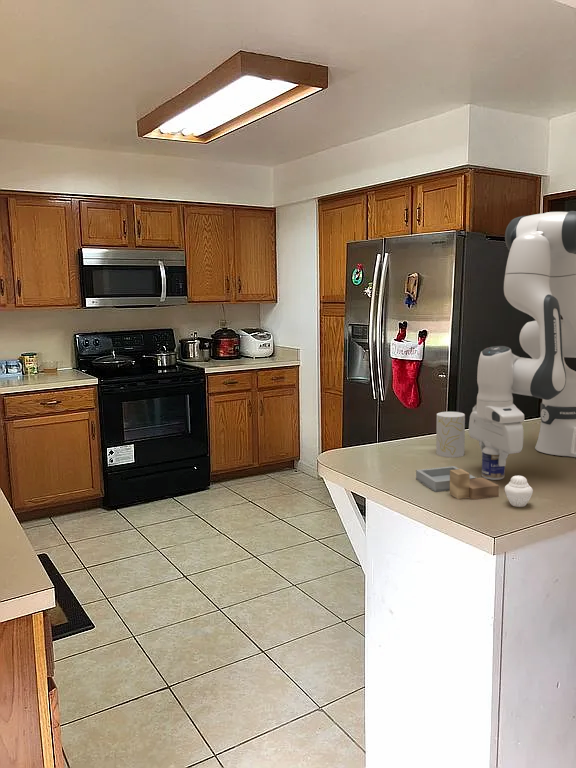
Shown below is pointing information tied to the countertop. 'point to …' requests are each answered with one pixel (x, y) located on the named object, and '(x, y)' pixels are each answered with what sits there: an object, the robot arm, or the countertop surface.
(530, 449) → the countertop surface
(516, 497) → the white lidded jar
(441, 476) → the tray
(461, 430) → the cup
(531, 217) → the robot arm
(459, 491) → the block
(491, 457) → the pill bottle
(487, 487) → the brown flat block
